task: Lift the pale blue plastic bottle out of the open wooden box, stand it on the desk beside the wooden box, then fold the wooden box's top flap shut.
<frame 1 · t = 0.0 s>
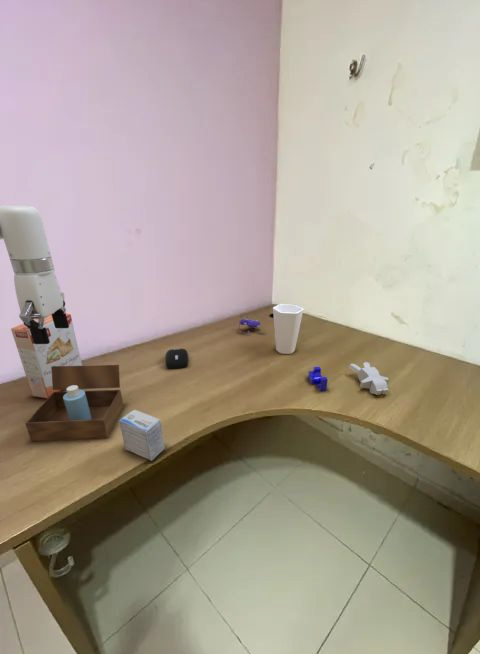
hand: (52, 335, 77), 20 cm above the table, tool pointing down, fingers open, 9 cm apart
computer mouse: (177, 361, 109), on the table
bottle: (81, 421, 78), resting on wooden box
cracker box: (60, 385, 93), on the table
bunny figurine: (368, 384, 100), on the table
cup: (285, 350, 121), on the table
medicine box: (145, 450, 71), on the table
cable holder: (316, 384, 99), on the table
wooden box: (81, 422, 78), on the table
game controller: (251, 332, 136), on the table
flap: (86, 377, 81), point 9 cm above the table, hinge at 110.0°
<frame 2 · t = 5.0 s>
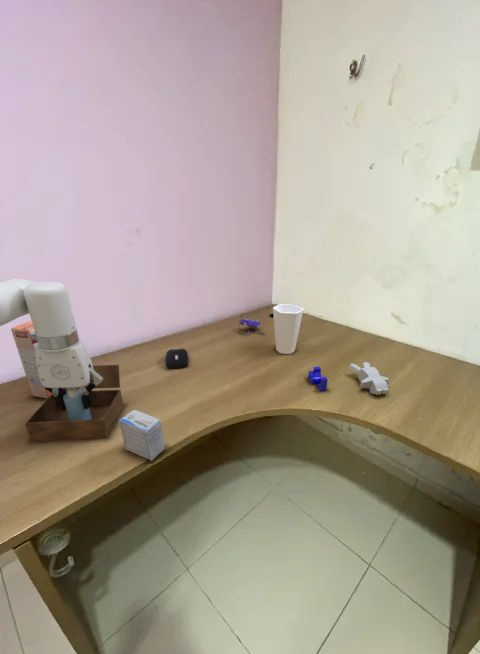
hand: (77, 405, 76), 5 cm above the table, tool pointing down, fingers closed on bottle, 4 cm apart
bottle: (81, 421, 78), resting on wooden box, touching gripper
everything else where it was.
when the fingers open (5 cm above the table, at t = 11.8 s): bottle stays where it is, on the table.
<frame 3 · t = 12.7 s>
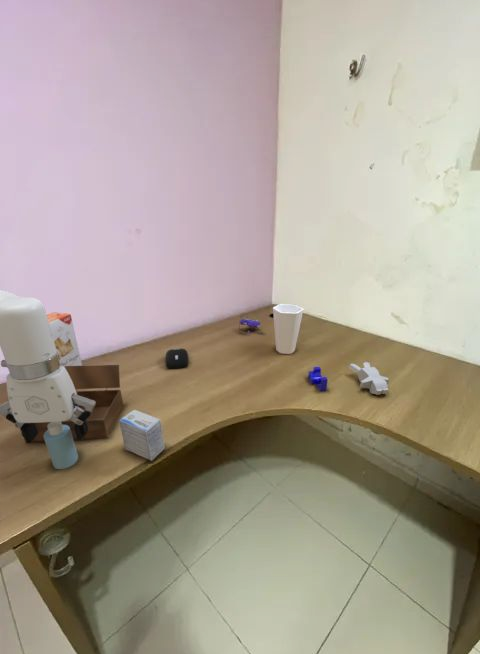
hand: (58, 437, 64), 6 cm above the table, tool pointing down, fingers open, 9 cm apart
bottle: (66, 461, 67), on the table
everything else where it was.
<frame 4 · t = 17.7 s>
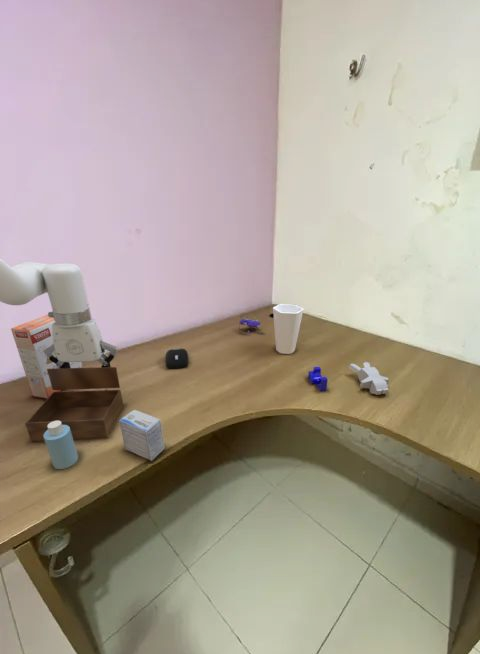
hand: (88, 377, 82), 8 cm above the table, tool pointing down, fingers open, 9 cm apart
flap: (84, 378, 80), point 9 cm above the table, hinge at 91.4°, touching gripper
everything else where it was.
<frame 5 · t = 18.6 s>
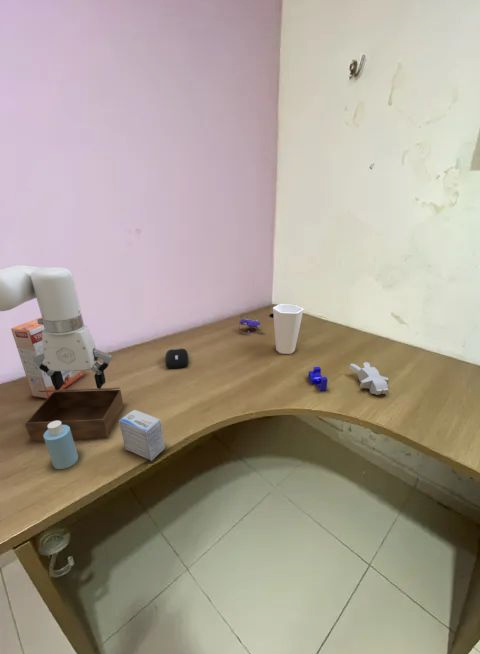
hand: (80, 386, 78), 8 cm above the table, tool pointing down, fingers open, 9 cm apart
flap: (81, 389, 78), point 7 cm above the table, hinge at 30.2°, touching gripper
everything else where it was.
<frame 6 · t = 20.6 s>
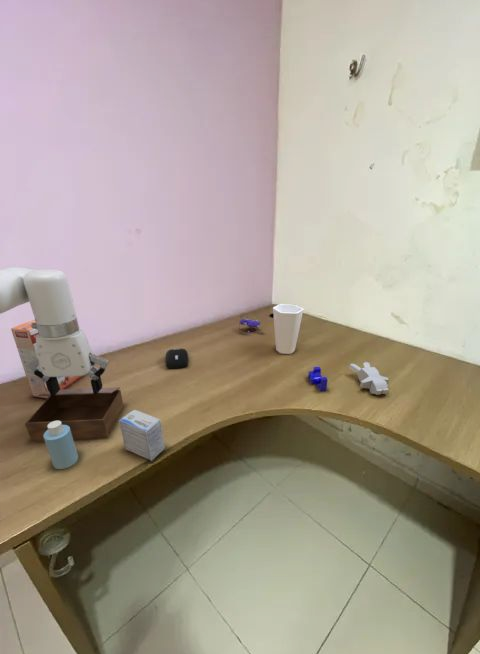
hand: (76, 392, 76), 8 cm above the table, tool pointing down, fingers open, 9 cm apart
flap: (81, 391, 78), point 7 cm above the table, hinge at 21.4°, touching gripper
everything else where it was.
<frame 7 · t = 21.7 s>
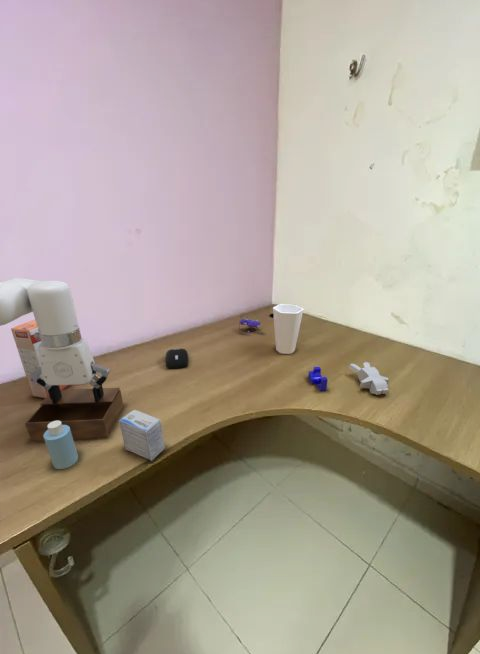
hand: (78, 399, 77), 6 cm above the table, tool pointing down
flap: (81, 395, 79), point 6 cm above the table, hinge at -0.5°, touching gripper
everything else where it was.
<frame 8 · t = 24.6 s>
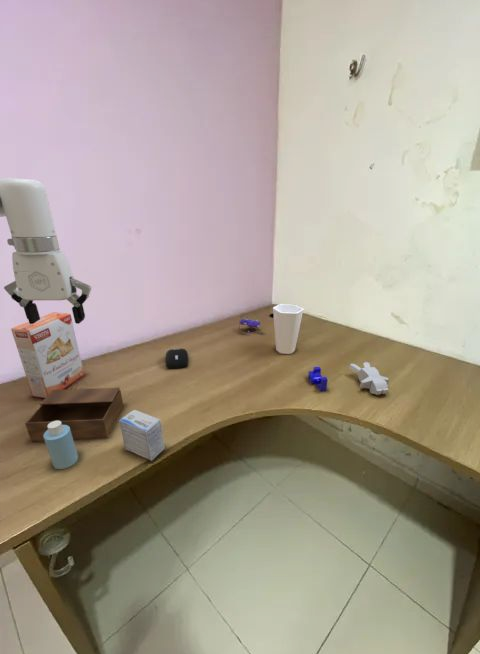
hand: (57, 321, 72), 25 cm above the table, tool pointing down, fingers open, 9 cm apart
flap: (81, 395, 79), point 6 cm above the table, hinge at -0.5°
everything else where it was.
at the end: bottle inside the target area (0.1 cm from its centre), on the table; bottle tilted 0°; flap at +0° (first picture: +110°) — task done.
